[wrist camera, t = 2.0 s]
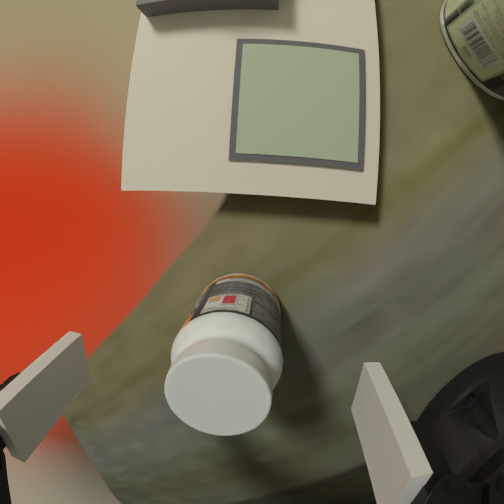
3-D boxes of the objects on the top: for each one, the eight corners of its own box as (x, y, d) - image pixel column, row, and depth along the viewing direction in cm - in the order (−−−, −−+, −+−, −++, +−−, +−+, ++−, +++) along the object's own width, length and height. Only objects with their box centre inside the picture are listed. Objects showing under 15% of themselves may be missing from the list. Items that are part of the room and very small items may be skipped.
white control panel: (368, 203, 20) (386, 207, 16) (130, 189, 21) (106, 191, 17) (361, -53, 15) (369, -77, 12) (167, -56, 16) (154, -78, 13)
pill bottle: (193, 275, 22) (135, 343, 12) (277, 267, 21) (278, 336, 12) (207, 348, 23) (169, 441, 13) (285, 343, 22) (288, 441, 13)
